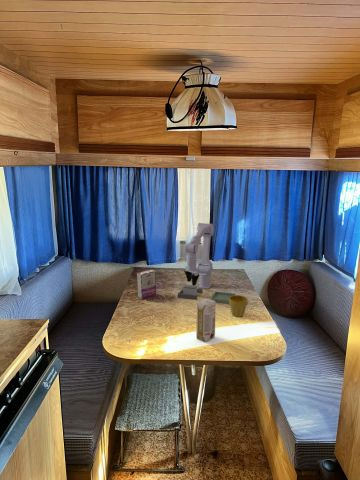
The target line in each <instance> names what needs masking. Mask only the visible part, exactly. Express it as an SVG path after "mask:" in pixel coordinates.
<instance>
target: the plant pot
mask: <svg viewBox="0 0 360 480" xmlns="http://www.w3.org/2000/svg"><path fill="white" fill-rule="evenodd" d="M248 301H249V299H248V297H247V296H244V295H239V294H236V295H233V296H230V297H229V304H228V305H230V311H231V315H232V316H233V317H235V318H241V317H243V316H244V315H245V310H246V307H247V306H248V303H249V302H248Z"/></svg>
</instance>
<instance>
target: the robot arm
mask: <svg viewBox="0 0 360 480" xmlns="http://www.w3.org/2000/svg"><path fill="white" fill-rule="evenodd" d="M214 227H215V226H214V225H213V223H206V222H205V223H203V222H198V224H197V227H196V228H197V229H196V230H197V232H196V234H195V235H193V236H192V238H191V239H190V241H189V243H186V245H185V253H186V254H185V255H186V266H185V270H184V271H183V272H184V274H185V277H186V281H187V282H189V283H190V282H191V283H192V284H191V285H193V286H197V289H208V290H209V289H210V288H211V287H212V285H213V284H212V283H211V282H212V281H211V280H212V279H211V275H212V273H213V270H214V268H213V263H212V262H211V261H210V260H209V259H210V247H211V246H210V245H211V238H212V237H213V236H214V230H215V228H214ZM202 238H203V239H202ZM201 242H202V249H201V250H202V251H201V260H199V261H198V262H197V253H198V251H199V245H200V243H201ZM197 282H199V285H197V284H198V283H197Z"/></svg>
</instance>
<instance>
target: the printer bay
mask: <svg viewBox="0 0 360 480" xmlns="http://www.w3.org/2000/svg"><path fill="white" fill-rule="evenodd" d="M203 289H204V288H197V295H188V294H183V288H182V289H181V290H180V291H178V293H177V298H179V299H187V300H197V301H198V294H204V293H203V292H204V290H203Z"/></svg>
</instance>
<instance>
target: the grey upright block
mask: <svg viewBox="0 0 360 480" xmlns="http://www.w3.org/2000/svg"><path fill="white" fill-rule="evenodd" d="M182 289H183V294H188V295H197V296H198V293H197V289H198V285H194V286H193V285H192V284H191V285H190V284H184V285H183V286H182Z"/></svg>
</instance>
